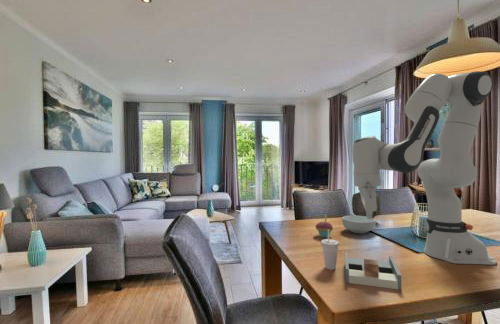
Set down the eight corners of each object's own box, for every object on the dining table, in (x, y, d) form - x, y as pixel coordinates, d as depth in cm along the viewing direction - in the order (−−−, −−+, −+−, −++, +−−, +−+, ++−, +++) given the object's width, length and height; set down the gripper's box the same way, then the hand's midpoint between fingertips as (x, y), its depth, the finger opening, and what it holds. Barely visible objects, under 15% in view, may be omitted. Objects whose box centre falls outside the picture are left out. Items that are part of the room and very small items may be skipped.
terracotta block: (377, 272, 87) (377, 260, 87) (378, 277, 84) (378, 265, 84) (364, 270, 89) (363, 258, 89) (364, 275, 85) (364, 263, 85)
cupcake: (336, 237, 133) (336, 213, 133) (322, 239, 130) (322, 215, 130) (325, 232, 141) (325, 210, 141) (312, 234, 138) (312, 211, 138)
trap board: (392, 268, 96) (392, 256, 96) (401, 289, 81) (401, 275, 81) (345, 263, 101) (345, 251, 101) (345, 282, 86) (345, 268, 86)
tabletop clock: (352, 221, 164) (351, 180, 164) (356, 218, 171) (356, 179, 170) (377, 224, 155) (376, 182, 154) (381, 221, 162) (380, 180, 161)
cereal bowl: (380, 236, 132) (380, 222, 132) (345, 235, 135) (345, 222, 135) (370, 227, 149) (370, 215, 149) (339, 226, 152) (339, 214, 152)
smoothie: (325, 262, 102) (325, 226, 102) (342, 266, 98) (341, 229, 98) (318, 268, 97) (317, 230, 97) (335, 272, 93) (335, 233, 93)
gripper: (380, 184, 86) (382, 226, 86) (373, 177, 105) (375, 212, 106) (359, 184, 88) (361, 225, 88) (356, 178, 107) (358, 212, 108)
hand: (369, 218), depth 97 cm, fingers closed
